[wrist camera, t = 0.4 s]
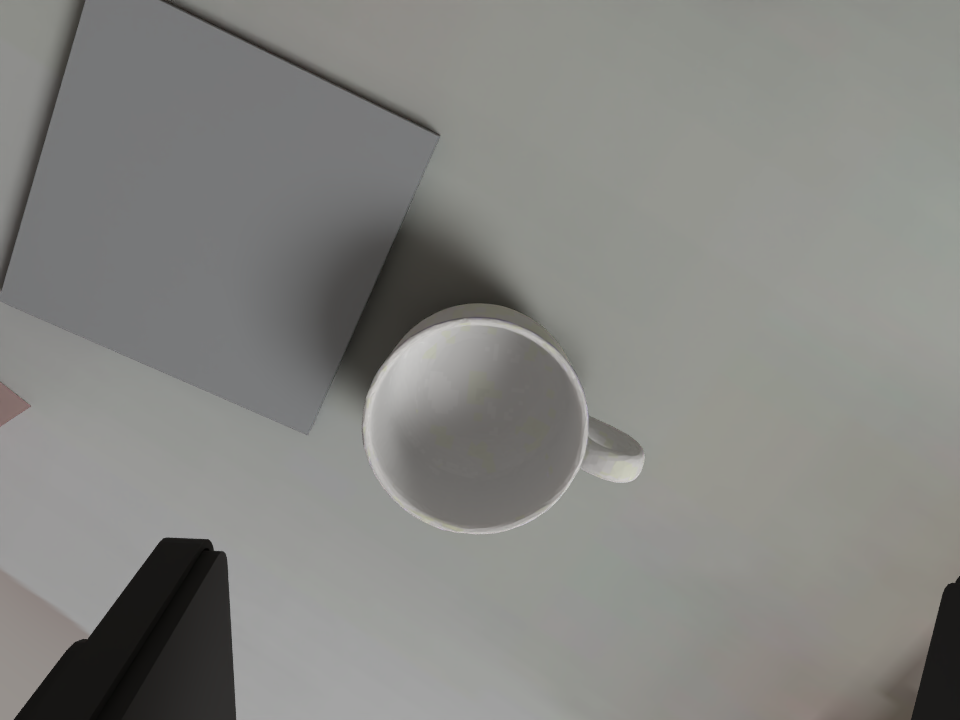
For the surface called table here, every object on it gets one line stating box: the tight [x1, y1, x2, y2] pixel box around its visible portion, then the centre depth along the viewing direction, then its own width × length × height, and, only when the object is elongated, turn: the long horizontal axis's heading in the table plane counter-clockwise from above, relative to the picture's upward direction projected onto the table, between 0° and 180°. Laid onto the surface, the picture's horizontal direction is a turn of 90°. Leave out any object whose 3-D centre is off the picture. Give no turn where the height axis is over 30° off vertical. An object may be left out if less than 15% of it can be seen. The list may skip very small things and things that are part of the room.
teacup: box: [362, 303, 645, 535], centre depth 42 cm, size 14×11×8 cm
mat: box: [0, 0, 440, 435], centre depth 43 cm, size 18×18×1 cm
